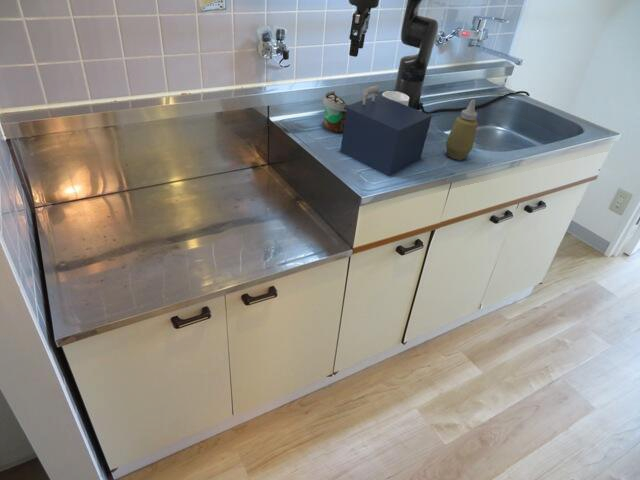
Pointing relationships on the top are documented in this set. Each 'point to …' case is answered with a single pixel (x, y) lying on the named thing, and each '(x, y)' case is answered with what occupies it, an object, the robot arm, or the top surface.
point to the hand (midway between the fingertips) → (356, 51)
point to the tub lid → (387, 111)
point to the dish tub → (382, 143)
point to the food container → (334, 113)
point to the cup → (397, 97)
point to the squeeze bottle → (462, 133)
